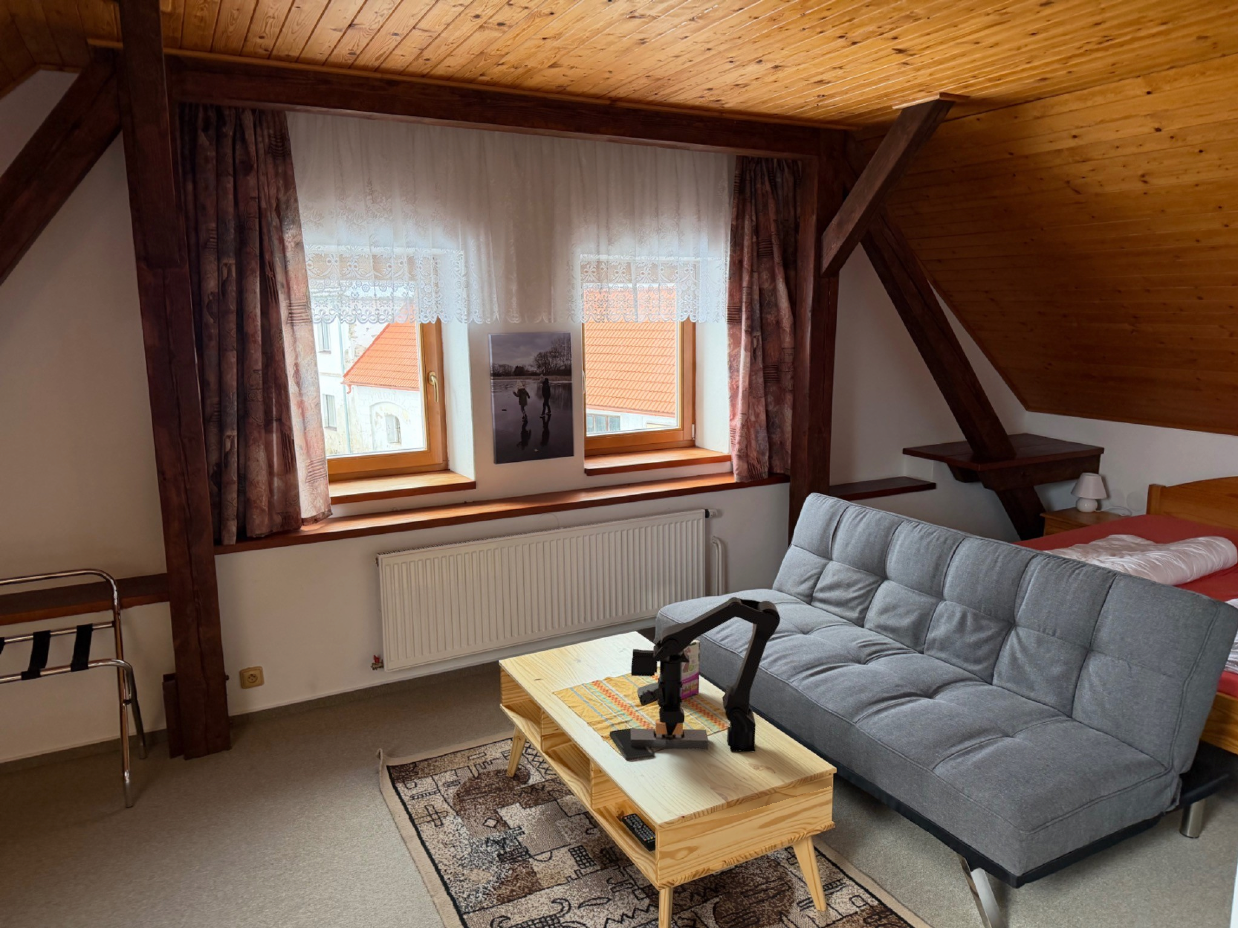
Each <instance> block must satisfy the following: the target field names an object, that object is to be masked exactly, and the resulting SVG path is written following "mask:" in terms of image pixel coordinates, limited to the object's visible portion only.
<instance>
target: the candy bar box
mask: <svg viewBox="0 0 1238 928" xmlns="http://www.w3.org/2000/svg"><path fill="white" fill-rule="evenodd" d="M700 643H701V641H700V640H698V639H695V640H693V641H692V643H691V644H690V645H689V646H688V647H687V648H685V649H684V651H685V653H686V654H688V655H689V660H690V662H689V663H683V662H682V688H681V697H682V700H685V699H687V698H690V697H692V696H695V695H698V694H699V693H700V653H701V651H700V649H701V648H700V647H701V644H700Z"/></svg>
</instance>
